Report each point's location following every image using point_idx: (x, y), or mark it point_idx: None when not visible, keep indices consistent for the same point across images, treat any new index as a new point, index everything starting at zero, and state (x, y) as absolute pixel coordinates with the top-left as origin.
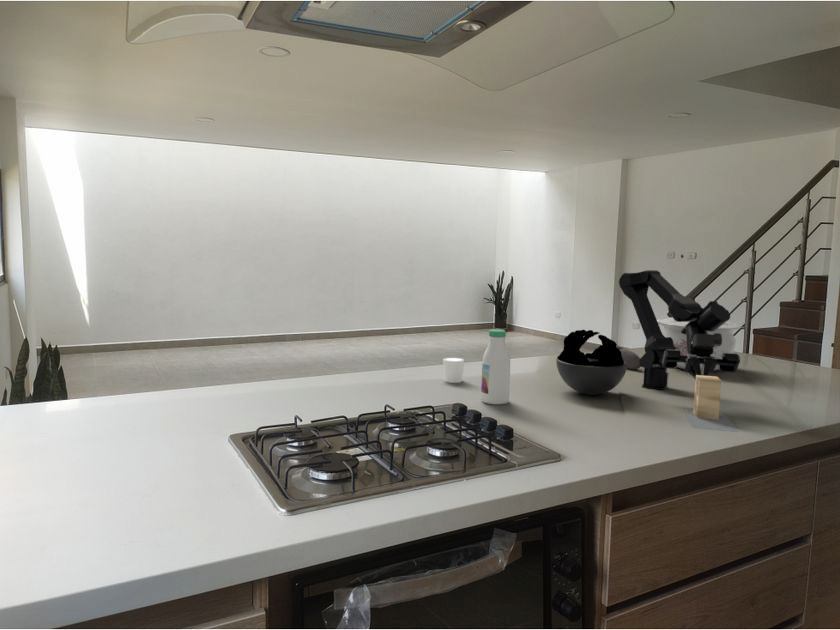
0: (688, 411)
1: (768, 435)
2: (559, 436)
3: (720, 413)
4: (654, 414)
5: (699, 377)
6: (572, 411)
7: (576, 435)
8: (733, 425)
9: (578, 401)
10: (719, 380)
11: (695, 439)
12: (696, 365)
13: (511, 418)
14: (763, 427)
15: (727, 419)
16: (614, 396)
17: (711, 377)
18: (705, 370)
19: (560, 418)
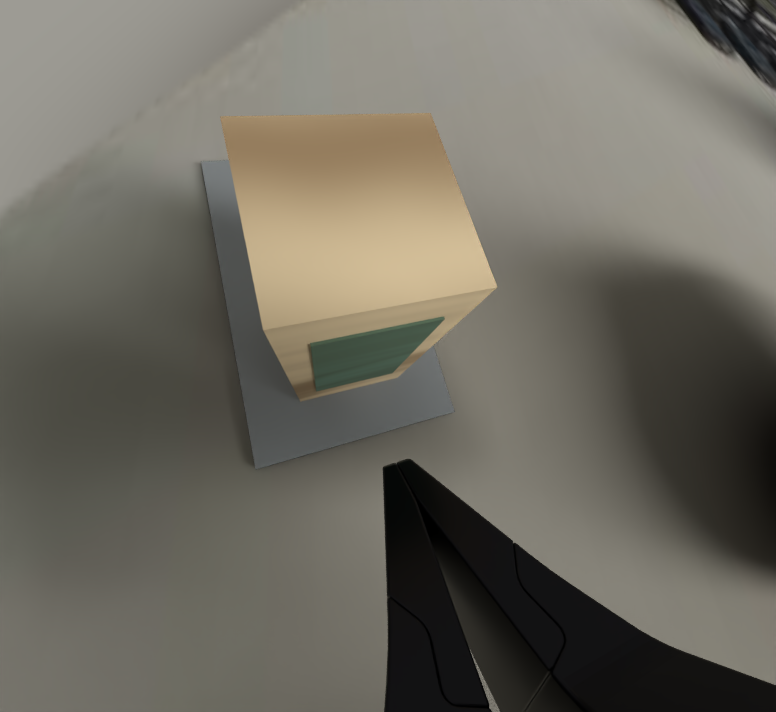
0: (418, 381)
1: (71, 185)
2: (620, 17)
3: (266, 436)
4: (523, 286)
5: (444, 178)
6: (709, 203)
7: (600, 29)
8: (216, 238)
9: (767, 328)
10: (243, 117)
11: (353, 67)
12: (645, 683)
13: (751, 97)
14: (59, 305)
15: (235, 330)
16: (742, 502)
17: (330, 232)
18: (447, 655)
19: (690, 131)
